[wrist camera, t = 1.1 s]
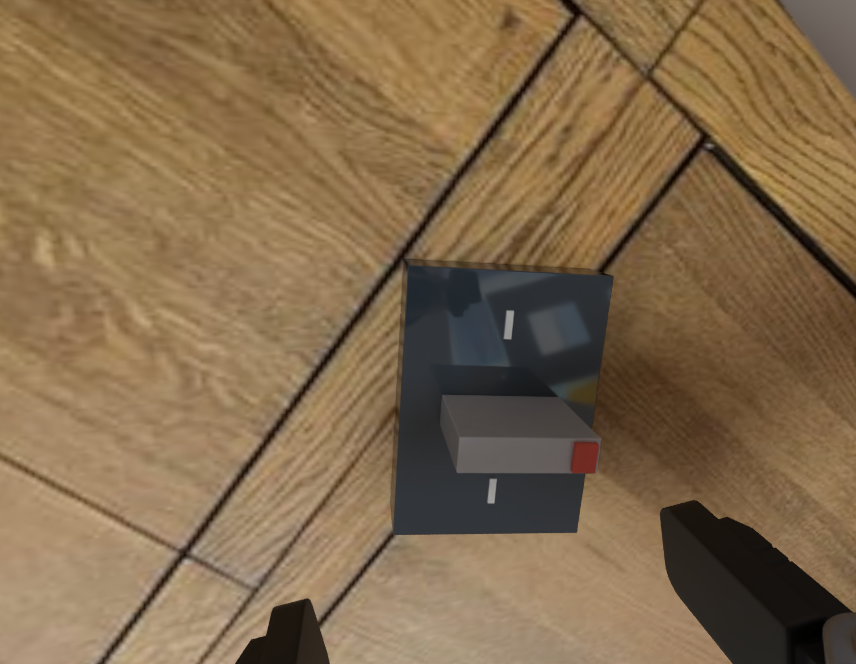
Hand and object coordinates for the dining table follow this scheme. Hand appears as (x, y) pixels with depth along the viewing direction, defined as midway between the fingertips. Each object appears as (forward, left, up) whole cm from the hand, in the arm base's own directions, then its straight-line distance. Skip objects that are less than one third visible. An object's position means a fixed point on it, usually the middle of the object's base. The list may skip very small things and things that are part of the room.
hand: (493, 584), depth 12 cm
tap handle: (+2, +4, -15) cm, 15 cm away
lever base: (+2, +4, -18) cm, 18 cm away
